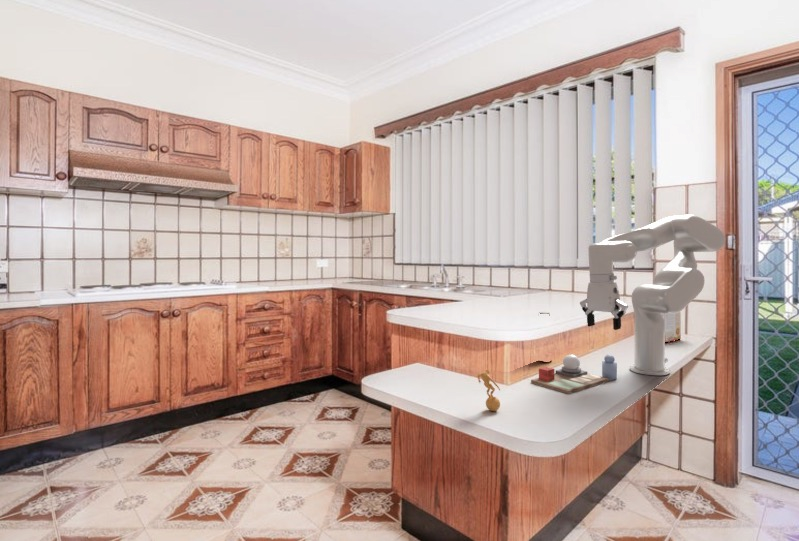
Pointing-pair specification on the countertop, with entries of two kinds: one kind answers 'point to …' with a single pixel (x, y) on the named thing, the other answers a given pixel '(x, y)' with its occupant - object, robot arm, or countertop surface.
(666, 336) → the cracker box
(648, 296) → the robot arm
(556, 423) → the countertop surface
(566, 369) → the white ball on base
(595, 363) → the countertop surface
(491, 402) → the figurine
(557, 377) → the game board
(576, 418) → the countertop surface
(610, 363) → the blue stoppered bottle
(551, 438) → the countertop surface
